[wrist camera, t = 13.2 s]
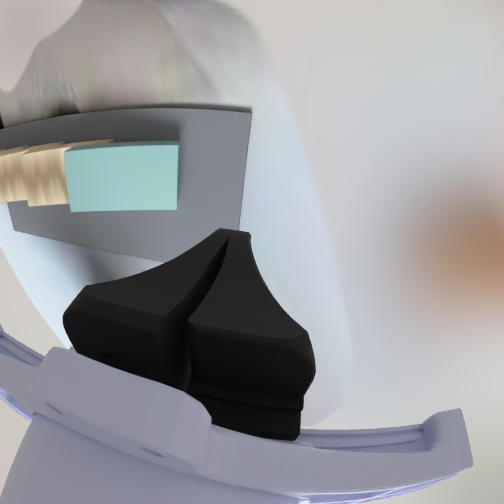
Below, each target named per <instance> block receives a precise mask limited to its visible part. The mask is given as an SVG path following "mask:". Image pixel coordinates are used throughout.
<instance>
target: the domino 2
mask: <svg viewBox="0 0 504 504" xmlns="http://www.w3.org/2000/svg"><path fill="white" fill-rule="evenodd" d="M104 143H114V139H106V140H95V141H85V142H77V143H69V144H62V145H55V146H49V147H43V148H38V149H32V150H29V151H27V152H25V153H24V154H22V155H21V162H22V170H23V177H24V183H25V189H26V195H27V200H28V205H29V207H30V206H42V205H55V204H70V203H69V196H68V189H67V181H66V173H65V162H64V151H66V150H68V149H70V148H71V147H74V146H83V145H92V144H104Z"/></svg>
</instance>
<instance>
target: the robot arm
mask: <svg viewBox="0 0 504 504" xmlns="http://www.w3.org/2000/svg"><path fill="white" fill-rule="evenodd" d="M250 240H251V235H250V233H249V232H243V231H237V230H231V229H224V228H219V229H217V230H216V231H215V232H213V233H212V234H210V235H209V236H208V237H206V238H205V239H204V240H202V241H201V242H199V243H198V244H197V245H195V246H194V247H192V248H191V249H189V250H187V251H186V252H184V253H182V254H181V255H179V256H177V257H176V258H174V259H172V260H170V261H168V262H166V263H164V264H162V265H159V266H157V267H155V268H152V269H149V270H147V271H144V272H141V273H139V274H136V275H133V276H129V277H126V278H122V279H118V280H114V281H110V282H104V283H99V284H93V285H87V286H85V287H84V288H83V289H82V290H81V292H80V293H79V294H78V295H77V297H76V298H75V299H74V300H73V302H72V303H71V304H70V305H69V307H68V308H67V309H66V311H65V312H64V314H63V326H64V328H65V331H66V334H67V335H68V337H69V339H70V341H71V343H72V345H73V347H72V346H71V348H70V349H69V350H68V349H64V348H60V347H53V348H52V349H50V350H49V352H48V353H47V354H46V356H43V355H41V354H39V353H38V352H35V351H34V350H32V349H30V348H29V347H27V346H25V345H24V344H22V343H20V342H19V341H17V340H16V339H14V338H13V337H11V336H9V335H8V334H6V333H5V332H4V331H3V328H2V327H1V325H0V399H2V400H3V401H4V402H5V403H6V404H7V405H9V406H10V407H11V408H12V409H13V410H15V411H16V412H17V413H18V414H20V415H21V416H22V417H24V418H25V419H26V420H28V421H29V422H30V423H31V424H30V426H29V428H28V430H27V432H26V434H25V436H24V438H23V440H22V443H21V445H20V447H19V449H18V452H17V454H16V457H15V459H14V461H13V464H12V466H11V469H10V471H9V474H8V477H7V480H6V482H5V485H4V488H3V491H2V494H1V497H0V504H357V503H363V502H369V501H375V500H380V499H385V498H389V497H394V496H398V495H402V494H406V493H410V492H414V491H417V490H421V489H424V488H428V487H431V486H433V485H435V484H437V483H440V482H442V481H445V480H447V479H449V478H451V477H453V476H455V475H457V474H459V473H461V472H463V471H465V470H467V469H469V468H471V467H472V466H473V459H472V454H471V449H470V444H469V439H468V434H467V430H466V426H465V422H464V418H463V414H462V411H461V409H459V408H458V409H453V410H448V411H442V412H438V413H436V414H434V415H432V416H430V417H429V418H428V419H426V420H425V421H424V422H423V424H417V425H410V426H401V427H391V428H378V429H360V430H316V429H300V422H301V411H302V410H303V406H304V395H305V393H306V392H307V390H308V388H309V387H310V385H311V383H312V381H313V380H314V376H315V373H316V366H315V358H314V353H313V349H312V344H311V341H310V338H309V335H308V332H307V331H306V330H305V329H304V328H302V327H301V326H300V325H299V324H298V323H297V322H296V321H294V320H293V319H292V318H291V317H290V316H289V315H288V314H287V313H286V312H285V311H284V310H283V308H282V307H281V306H280V304H279V303H278V302H277V301H276V299H275V298H274V297H273V295H272V294H271V292H270V291H269V289H268V287H267V286H266V284H265V282H264V280H263V278H262V276H261V274H260V272H259V270H258V267H257V265H256V262H255V259H254V256H253V252H252V248H251V241H250Z"/></svg>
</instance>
